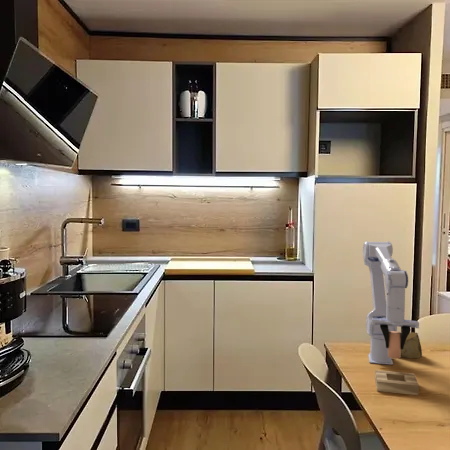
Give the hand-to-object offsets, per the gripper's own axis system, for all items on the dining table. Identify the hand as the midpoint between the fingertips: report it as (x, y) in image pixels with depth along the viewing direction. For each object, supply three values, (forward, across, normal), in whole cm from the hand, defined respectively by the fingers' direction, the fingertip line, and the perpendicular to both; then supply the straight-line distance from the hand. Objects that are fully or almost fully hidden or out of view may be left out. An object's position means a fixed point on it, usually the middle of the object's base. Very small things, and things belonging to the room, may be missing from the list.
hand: (394, 347), depth 157 cm
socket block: (+10, 0, -8) cm, 13 cm away
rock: (+10, +7, +24) cm, 27 cm away
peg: (+3, 0, 0) cm, 3 cm away
